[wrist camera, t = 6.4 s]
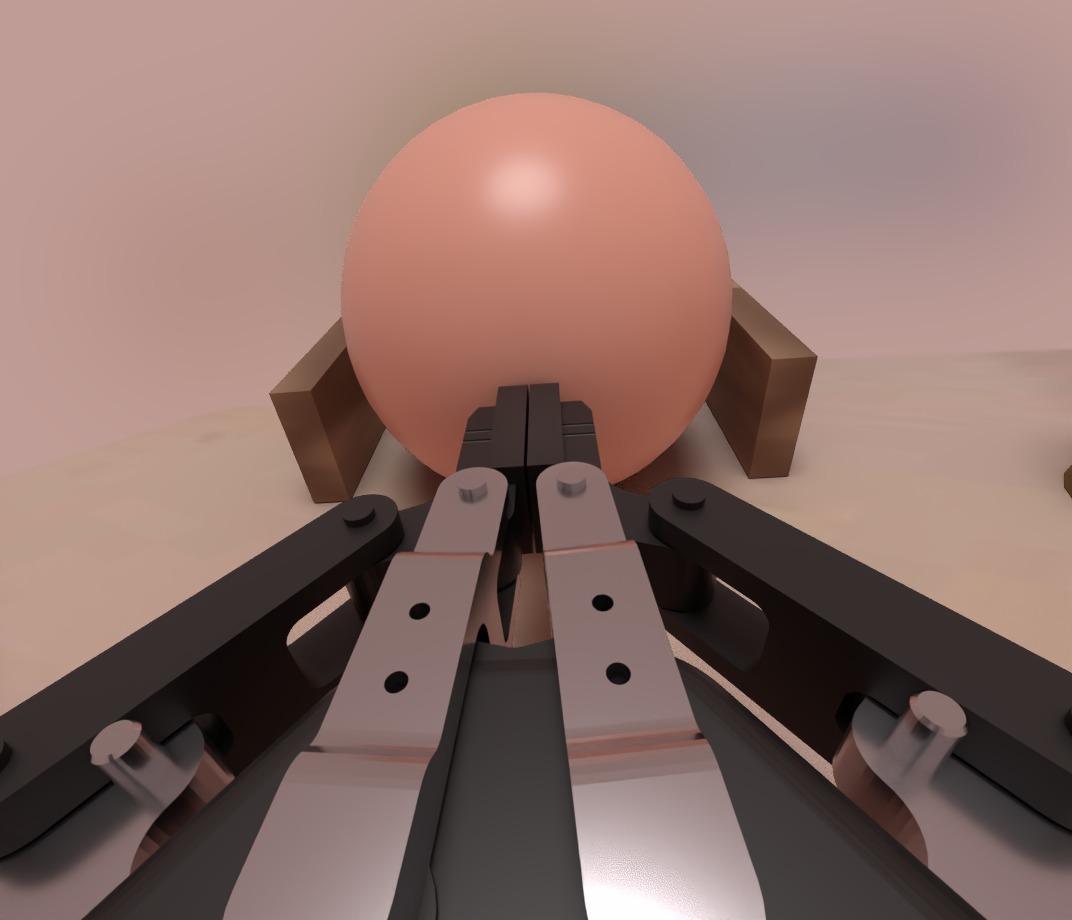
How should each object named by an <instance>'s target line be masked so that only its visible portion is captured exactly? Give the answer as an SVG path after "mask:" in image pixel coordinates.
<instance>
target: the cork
mask: <svg viewBox="0 0 1072 920" xmlns="http://www.w3.org/2000/svg"><path fill="white" fill-rule="evenodd" d="M1064 487H1065V488H1066V490H1067V491H1068V493H1069V494H1070V495H1071V497H1072V465H1071V466H1070V468H1069V469H1068V470H1067V471H1066V472H1065V473H1064Z"/></svg>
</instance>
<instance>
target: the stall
mask: <svg viewBox="0 0 1072 920" xmlns="http://www.w3.org/2000/svg"><path fill="white" fill-rule="evenodd" d="M731 281H732V316H731V322H730V329H729V334H728V340H727V346H726V351H725V354H724V357H723V360H722V363H721V366H720V369H719V372H718V374H717V377H716V379H715V382H714V384H713V386H712V388H711V390H710V392H709V394H708V396H707V398H706V400H705V401H706V402H707V404H708V406H709V408H710V409H711V411H712V413H713V415H714V417H715V418H716V420H717V422H718V424H719V425H720V427H721V429H722V431H723V433H724V434H725V436H726V438H727V440H728V441H729V443H730V445H731V447H732V449H733V450H734V452H735V454H736V456H737V457H738V459H739V461H740V463H741V465H742V466H743V468H744V470H745V472H746V473H747V475H748V477H749V478H760V477H778V476H788V474H789V470H790V466H791V462H792V458H793V454H794V450H795V446H796V442H797V438H798V434H799V430H800V426H801V422H802V418H803V414H804V410H805V406H806V402H807V398H808V394H809V389H810V385H811V381H812V377H813V373H814V369H815V365H816V361H817V357H818V356H817V355H816V354H814V353H813V352H812V351H811V350H810V349H809V348H808V347H807V346H806V345H805V344H803V343H802V342H801V341H800V340H799V339H798V338H797V337H796V336H795V335H793V334H792V333H791V332H790V331H789V330H788V329H787V328H786V327H784V326H783V325H782V324H781V323H780V322H779V321H778V320H777V319H776V318H775V317H773V316H772V315H771V314H770V313H769V312H768V311H767V310H766V309H765V308H763V307H762V306H761V305H760V304H759V303H758V302H757V301H756V300H755V299H754V298H752V297H751V296H750V295H749V294H748V293H747V292H746V291H745V290H743V289H742V288H741V287H740V286H739V285H738V284H737V283H736V282H735V281H734V280H732V279H731ZM269 395H270V397H271V400H272V402H273V404H274V407H275V409H276V412H277V414H278V416H279V419H280V421H281V424H282V426H283V429H284V431H285V433H286V436H287V438H288V441H289V443H290V446H291V448H292V450H293V453H294V455H295V458H296V460H297V463H298V465H299V467H300V470H301V472H302V475H303V477H304V480H305V482H306V484H307V487H308V489H309V492H310V494H311V497H312V499H313V501H314V503H322V502H339V501H346V500H349V499H351V498H352V496H353V494H354V492H355V490H356V487H357V485H358V483H359V481H360V479H361V477H362V475H363V473H364V471H365V469H366V467H367V465H368V462H369V460H370V458H371V456H372V454H373V452H374V450H375V448H376V446H377V444H378V442H379V440H380V438H381V435H382V433H383V431H384V429H385V425H384V424H383V422H382V421H381V420H380V418H379V417H378V415H377V414H376V412H375V411H374V409H373V408H372V407H371V405H370V404H369V402H368V400H367V398H366V396H365V394H364V392H363V390H362V388H361V386H360V384H359V381H358V379H357V377H356V374H355V372H354V369H353V366H352V363H351V360H350V357H349V354H348V351H347V345H346V339H345V333H344V328H343V322H342V317H341V318H340V319H339V320H338V321H337V322H336V323H335V324H334V325H333V326H332V327H331V328H330V329H329V330H328V332H327V333H326V334H325V335H324V336H323V337H322V338H321V339H320V340H319V341H318V342H317V343H316V344H315V345H314V346H313V348H312V349H311V350H310V351H309V352H308V353H307V354H306V355H305V356H304V357H303V358H302V359H301V360H300V361H299V362H298V363H297V365H296V366H295V367H294V368H293V369H292V370H291V371H290V372H289V373H288V374H287V375H286V376H285V377H284V378H283V380H281V381H280V383H279V384H278V385H277V386H276V387H275V388H274V389H273V390H272V391H271V392H270V393H269Z"/></svg>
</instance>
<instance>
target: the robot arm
mask: <svg viewBox="0 0 1072 920" xmlns="http://www.w3.org/2000/svg"><path fill="white" fill-rule="evenodd" d="M533 530H534V537H535V546H536V553H543V560H544V571H545V582H546V591H547V600H548V609H549V618H550V628H551V637H552V639H550V640H546V641H542V642H539V643H535V644H531V645H528V646H524V647H519V648H512V645H513V637H514V630H515V623H516V616H517V608H518V601H519V594H520V587H521V578H520V570H521V566H522V554H529V553H533ZM717 577H718V578H719V579H721V580H722V581H724V582H725V583H727V584H728V585H730V586H731V587H733V588H734V589H736V590H737V591H739V592H740V593H742V594H743V595H745V596H746V597H748V598H749V599H751V600H752V601H753V602H755V603H756V604H757V605H758V606H759V607H760V608H761V609H762V610H763V611H762V610H760V609H759V608H757V607H756V606H754V605H753V604H751V603H750V602H748V601H747V600H745V599H744V598H742V597H741V596H739V595H738V594H736V593H735V592H733V591H732V590H730V589H729V588H727V587H726V586H724V585H723V584H721V583H720V582H719V581H717V580H716V578H717ZM345 585H346V587H347V590H348V592H349V595H350V597H351V598H350V599H349V600H348V601H346V602H345V603H344V604H342V605H341V606H340V607H339V608H337V609H336V610H335V611H333V612H332V613H331V614H329V615H328V616H327V617H326V618H324V619H323V620H322V621H320V622H319V623H318V624H316V625H315V626H314V627H313V628H311V629H310V630H309V631H307V632H306V633H305V634H303V635H302V636H301V637H300V638H298V639H297V640H296V641H294V642H293V643H292V644H290V645H289V646H287V637H288V634H289V632H290V630H291V629H292V627H293V626H294V625H295V624H296V623H297V622H298V621H299V620H300V619H301V618H303V617H304V616H305V615H307V614H308V613H309V612H311V611H312V610H313V609H315V608H316V607H317V606H319V605H320V604H321V603H323V602H324V601H325V600H327V599H328V598H329V597H331V596H332V595H333V594H335V593H336V592H337V591H339V590H340V589H341V588H343V587H344V586H345ZM665 630H666V631H668V632H669V633H670V634H671V635H673V636H674V637H675V638H676V639H677V640H679V641H680V642H681V643H682V644H684V645H685V646H686V647H687V648H689V649H690V650H691V651H692V652H693V653H695V654H696V655H697V656H698V657H700V658H701V659H702V660H703V661H705V662H706V663H707V664H708V665H709V666H711V667H712V668H713V669H714V670H716V671H717V672H718V673H719V674H721V675H722V676H723V677H724V678H725V679H727V680H728V681H729V682H730V683H732V684H733V685H734V686H735V687H737V688H738V689H739V690H740V691H741V692H743V693H744V694H745V695H746V696H748V697H749V698H750V699H751V700H753V701H754V702H755V703H756V704H757V705H759V706H760V707H761V708H762V709H764V710H765V711H766V712H767V713H769V714H770V715H771V716H772V717H774V718H775V719H776V720H777V721H778V722H780V723H781V724H782V725H783V726H785V727H786V728H787V729H788V730H790V731H791V732H792V733H793V734H794V735H796V736H797V737H798V738H799V739H801V740H802V741H803V742H804V743H806V744H807V745H808V746H809V747H810V748H812V749H813V750H814V751H815V752H817V753H818V754H819V755H820V756H822V757H823V758H824V759H825V760H826V761H828V762H829V763H830V764H831V765H832V768H833V776H834V779H835V783H836V786H837V787H836V786H834V785H833V784H832V783H831V782H830V781H829V780H828V779H827V778H825V777H824V776H823V775H822V774H821V773H820V772H819V771H817V770H816V769H815V768H814V767H813V766H812V765H811V764H809V763H808V762H807V761H806V760H805V759H804V758H803V757H801V756H800V755H799V754H798V753H797V752H796V751H795V750H793V749H792V748H791V747H790V746H789V745H788V744H787V743H786V742H784V741H783V740H782V739H781V738H780V737H779V736H778V735H776V734H775V733H774V732H773V731H772V730H771V729H770V728H768V727H767V726H766V725H765V724H764V723H763V722H762V721H760V720H759V719H758V718H757V717H756V716H755V715H754V714H752V713H751V712H750V711H749V710H748V709H747V708H746V707H745V706H743V705H742V704H741V703H740V702H739V701H738V700H737V699H735V698H734V697H733V696H732V695H731V694H730V693H729V692H727V691H726V690H725V689H724V688H723V687H722V686H721V685H719V684H718V683H717V682H716V681H715V680H713V679H712V678H711V677H709V676H708V675H706V674H705V673H704V672H702V671H701V670H699V669H698V668H696V667H694V666H692V665H690V664H689V663H687V662H685V661H683V660H680V659H678V658H676V657H674V655H673V652H672V649H671V646H670V643H669V640H668V637H667V634H666V631H665ZM0 920H1072V673H1071V672H1069V671H1067V670H1065V669H1063V668H1061V667H1059V666H1058V665H1056V664H1054V663H1052V662H1050V661H1048V660H1046V659H1044V658H1042V657H1040V656H1038V655H1037V654H1035V653H1033V652H1031V651H1029V650H1027V649H1025V648H1023V647H1021V646H1019V645H1017V644H1016V643H1014V642H1012V641H1010V640H1008V639H1006V638H1004V637H1002V636H1000V635H998V634H997V633H995V632H993V631H991V630H989V629H987V628H985V627H983V626H981V625H979V624H977V623H976V622H974V621H972V620H970V619H968V618H966V617H964V616H962V615H960V614H958V613H956V612H955V611H953V610H951V609H949V608H947V607H945V606H943V605H941V604H939V603H937V602H936V601H934V600H932V599H930V598H928V597H926V596H924V595H922V594H920V593H918V592H916V591H915V590H913V589H911V588H909V587H907V586H905V585H903V584H901V583H899V582H897V581H896V580H894V579H892V578H890V577H888V576H886V575H884V574H882V573H880V572H878V571H876V570H875V569H873V568H871V567H869V566H867V565H865V564H863V563H861V562H859V561H857V560H855V559H854V558H852V557H850V556H848V555H846V554H844V553H842V552H840V551H838V550H836V549H835V548H833V547H831V546H829V545H827V544H825V543H823V542H821V541H819V540H817V539H815V538H814V537H812V536H810V535H808V534H806V533H804V532H802V531H800V530H798V529H796V528H795V527H793V526H791V525H789V524H787V523H785V522H783V521H781V520H779V519H777V518H775V517H774V516H772V515H770V514H768V513H766V512H764V511H762V510H760V509H758V508H756V507H754V506H753V505H751V504H749V503H747V502H745V501H743V500H741V499H739V498H737V497H735V496H734V495H732V494H730V493H728V492H726V491H724V490H722V489H720V488H718V487H716V486H714V485H713V484H710V483H708V482H706V481H703V480H699V479H694V478H673V479H669V480H666V481H663V482H661V483H659V484H658V485H656V486H655V487H654V488H653V489H652V491H651V493H650V495H644V494H638V493H633V492H628V491H625V490H622V489H620V488H618V487H616V486H614V485H613V484H611V483H610V482H609V481H608V480H607V477H606V475H605V474H604V472H603V471H602V468H601V462H600V456H599V450H598V445H597V439H596V434H595V427H594V421H593V415H592V410H591V409H590V408H589V407H588V406H587V405H586V404H585V403H584V402H582V401H566V402H560V391H559V382H557V383H542V384H530V396H529V389H528V385H514V386H499V387H498V393H497V399H496V406H490V407H479V408H478V409H477V410H476V411H475V412H474V413H473V414H472V415H471V416H470V417H469V418H468V420H467V425H466V429H465V433H464V438H463V443H462V446H461V451H460V455H459V459H458V464H457V468H456V472H455V473H453V474H451V475H450V476H448V477H447V478H446V479H445V480H443V482H442V483H441V484H440V486H439V488H438V490H437V493H436V495H435V498H434V500H432V501H430V502H428V503H425V504H422V505H419V506H415V507H412V508H408V509H404V510H401V511H398V508H397V505H396V503H395V502H394V501H393V500H392V499H390V498H389V497H386V496H383V495H376V494H370V495H362V496H358V497H354V498H351V499H349V500H346V501H344V502H342V503H341V504H339V505H337V506H336V507H334V508H332V509H331V510H329V511H328V512H326V513H324V514H323V515H321V516H320V517H318V518H316V519H315V520H313V521H312V522H310V523H308V524H307V525H305V526H304V527H302V528H300V529H299V530H297V531H296V532H294V533H292V534H291V535H289V536H288V537H286V538H284V539H283V540H281V541H280V542H278V543H277V544H275V545H273V546H272V547H270V548H269V549H267V550H265V551H264V552H262V553H261V554H259V555H257V556H256V557H254V558H253V559H251V560H249V561H248V562H246V563H245V564H243V565H241V566H240V567H238V568H237V569H235V570H233V571H232V572H230V573H229V574H227V575H225V576H224V577H222V578H221V579H219V580H217V581H216V582H214V583H213V584H211V585H209V586H208V587H206V588H205V589H203V590H201V591H200V592H198V593H197V594H195V595H193V596H192V597H190V598H189V599H187V600H185V601H184V602H182V603H181V604H179V605H177V606H176V607H174V608H173V609H171V610H169V611H168V612H166V613H165V614H163V615H161V616H160V617H158V618H157V619H155V620H153V621H152V622H150V623H149V624H147V625H145V626H144V627H142V628H141V629H139V630H137V631H136V632H134V633H133V634H131V635H130V636H128V637H126V638H125V639H123V640H122V641H120V642H118V643H117V644H115V645H114V646H112V647H110V648H109V649H107V650H106V651H104V652H102V653H101V654H99V655H98V656H96V657H94V658H93V659H91V660H90V661H88V662H86V663H85V664H83V665H82V666H80V667H78V668H77V669H75V670H74V671H72V672H70V673H69V674H67V675H66V676H64V677H62V678H61V679H59V680H58V681H56V682H54V683H53V684H51V685H50V686H48V687H46V688H45V689H43V690H42V691H40V692H38V693H37V694H35V695H34V696H32V697H30V698H29V699H27V700H26V701H24V702H22V703H21V704H19V705H18V706H16V707H14V708H13V709H11V710H10V711H8V712H6V713H5V714H3V715H2V716H0Z"/></svg>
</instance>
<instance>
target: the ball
mask: <svg viewBox="0 0 1072 920" xmlns="http://www.w3.org/2000/svg"><path fill="white" fill-rule="evenodd" d="M341 315H342V322H343V328H344V333H345V339H346V345H347V351H348V354H349V357H350V360H351V363H352V366H353V369H354V372H355V374H356V377H357V379H358V381H359V384H360V386H361V388H362V390H363V392H364V394H365V396H366V398H367V400H368V402H369V404H370V405H371V407H372V408H373V409H374V411H375V412H376V414H377V415H378V417H379V418H380V420H381V421H382V422H383V424H384V425H385V427H386V428H387V429H388V431H389V432H390V433H391V434H392V435H393V436H394V437H395V438H396V440H397V441H398V442H399V443H400V444H401V445H402V446H404V447H405V448H406V449H407V450H408V451H409V452H410V453H412V454H413V455H414V456H415V457H416V458H417V459H418V460H420V461H421V462H422V463H423V464H425V465H426V466H428V467H429V468H430V469H432V470H433V471H435V472H436V473H438V474H440V475H442V476H444V477H445V478H447V477H448V476H450V475H451V474H453V473H455V472H456V468H457V464H458V459H459V455H460V451H461V446H462V443H463V438H464V433H465V429H466V425H467V420H468V418H469V417H470V416H471V415H472V414H473V413H474V412H475V411H476V410H477V409H478V408H479V407H490V406H496V399H497V393H498V387H499V386H514V385H528V389H529V396H530V384H542V383H557V382H559V391H560V402H566V401H582V402H584V403H585V404H586V405H587V406H588V407H589V408H590V409H591V410H592V415H593V421H594V427H595V434H596V439H597V445H598V450H599V456H600V462H601V468H602V471H603V472H604V474H605V475H606V477H607V480H608V481H609V482H610V483H611V484H615V483H617V482H620V481H622V480H624V479H626V478H628V477H629V476H631V475H633V474H635V473H637V472H638V471H640V470H641V469H643V468H644V467H645V466H647V465H648V464H650V463H651V462H652V461H653V460H655V459H656V458H657V457H658V456H659V455H660V454H661V453H663V452H664V451H665V450H666V449H667V448H668V447H669V446H671V445H672V444H673V443H674V442H675V441H676V440H677V439H678V437H679V436H680V435H681V434H682V433H683V432H684V431H685V430H686V428H687V427H688V425H689V424H690V422H691V421H692V420H693V418H694V417H695V415H696V414H697V412H698V411H699V409H700V408H701V407H702V405H703V404H704V402H705V400H706V398H707V396H708V394H709V392H710V390H711V388H712V386H713V384H714V382H715V379H716V377H717V374H718V372H719V369H720V366H721V363H722V360H723V357H724V354H725V351H726V346H727V340H728V334H729V329H730V322H731V316H732V281H731V271H730V264H729V258H728V251H727V247H726V244H725V241H724V238H723V235H722V231H721V228H720V225H719V222H718V220H717V217H716V214H715V212H714V210H713V208H712V206H711V204H710V202H709V200H708V198H707V196H706V194H705V192H704V190H703V188H702V187H701V185H700V184H699V183H698V181H697V180H696V179H695V177H694V176H693V175H692V173H691V172H690V170H689V169H688V167H687V166H686V165H685V164H684V163H683V161H682V160H681V159H680V157H679V156H678V155H677V154H676V153H674V151H672V149H671V148H670V147H669V146H668V145H667V144H666V143H665V142H664V141H663V140H662V139H661V138H659V137H658V136H657V135H655V134H654V133H652V132H651V131H650V130H648V129H647V128H645V127H644V126H643V125H641V124H640V123H638V122H637V121H635V120H633V119H631V118H629V117H627V116H625V115H623V114H621V113H619V112H617V111H615V110H613V109H611V108H609V107H607V106H604V105H601V104H597V103H595V102H591V101H589V100H585V99H582V98H579V97H573V96H566V95H560V94H553V93H519V94H513V95H507V96H500V97H494V98H491V99H488V100H485V101H482V102H479V103H476V104H472V105H470V106H466V107H464V108H462V109H460V110H458V111H456V112H454V113H452V114H450V115H448V116H446V117H444V118H442V119H440V120H438V121H436V122H435V123H433V124H432V125H430V126H429V127H428V128H426V129H425V130H424V131H422V132H421V133H419V134H418V135H417V136H416V137H414V138H413V139H412V140H411V141H409V143H408V144H406V145H405V146H404V147H403V149H402V150H401V151H400V152H399V153H398V154H397V155H396V156H395V157H394V158H393V159H392V160H391V161H390V162H389V164H388V165H387V166H386V168H385V169H384V171H383V172H382V173H381V175H380V176H379V178H378V179H377V180H376V182H375V183H374V184H373V186H372V187H371V189H370V190H369V192H368V194H367V196H366V198H365V200H364V202H363V204H362V206H361V208H360V210H359V212H358V214H357V217H356V220H355V223H354V226H353V229H352V232H351V235H350V238H349V242H348V245H347V248H346V251H345V259H344V265H343V273H342V283H341Z"/></svg>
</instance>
